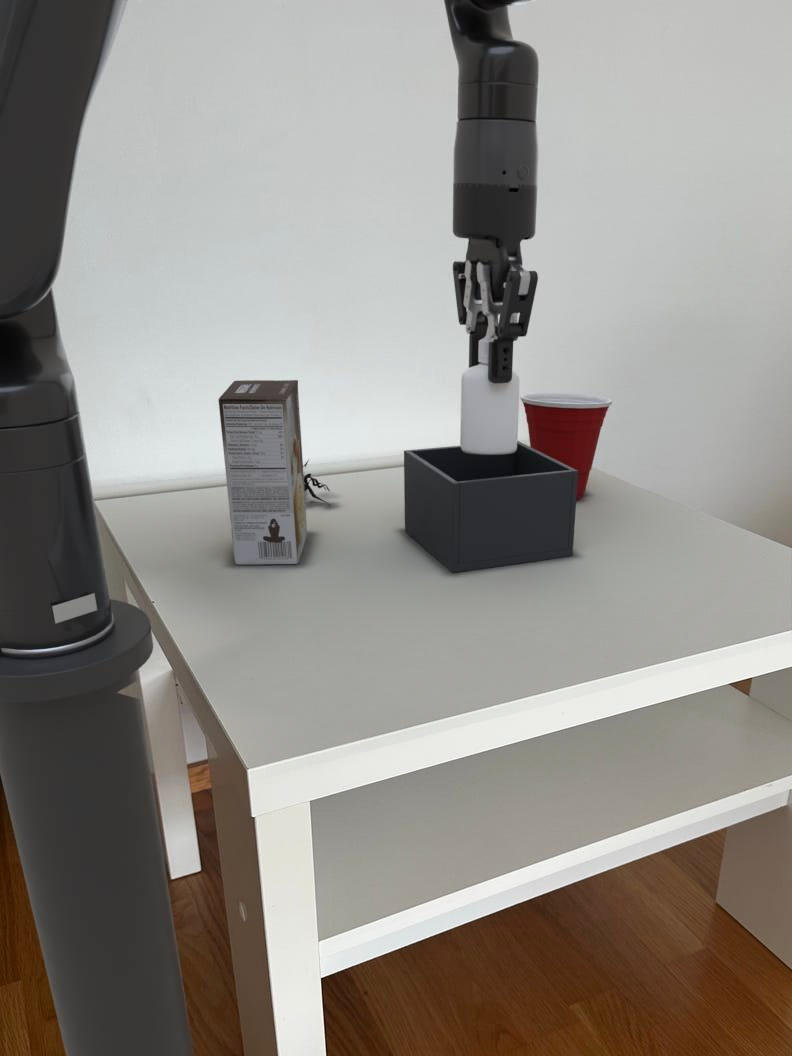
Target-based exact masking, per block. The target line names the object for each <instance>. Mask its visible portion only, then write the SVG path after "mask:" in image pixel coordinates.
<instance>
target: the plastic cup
mask: <svg viewBox="0 0 792 1056" xmlns="http://www.w3.org/2000/svg"><path fill="white" fill-rule="evenodd" d="M519 399H520V401H521V402H522V404H523V407H524V413H525V416H526V417H525V418H526V423H527V428H528V429H527V431H528V437H529V438H528V439H529V447H531V448H533V449H535V450H537V451H539V452H541V453H543V454H545V455H547V456H549V457H551V458H553V459H555V460H557V461H559V462H561V463H563V464H565V465H567V466H569V467H571V468H573V469H575V470H577V471H578V483H577V497H576V501H577V500H581V499H582V498H583V497H584V494H585V492H586V490H587V486H588V481H589V477H590V472H591V470H592V467H593V463H594V459H595V455H596V452H597V451H596V450H597V447H598V442H599V438H600V434H601V430H602V427H603V425H604V421H605V418H606V416H607V412H608V410H609V409H610V406H612V405H613V400H612V399H611V398H607V397H602V396H597V395H589V394H580V393H579V394H577V393H557V392H543V393H542V392H540V393H538V392H536V393H525V394H522V395H519Z"/></svg>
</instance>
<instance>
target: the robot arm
mask: <svg viewBox="0 0 792 1056" xmlns="http://www.w3.org/2000/svg"><path fill="white" fill-rule="evenodd" d="M128 1H129V0H0V657H9V658H16V659H41V658H51V657H57V656H63V655H67V654H71V653H75V652H78V651H81V650H84V649H87V648H90V647H92V646H94V645H96V644H98V643H100V642H102V641H103V640H105V639H106V638H107V637H108V636H110V635H111V633H112V632H113V631H114V628H115V622H114V616H113V613H112V612H111V601H110V599H111V598H110V594H109V588H108V587H109V586H108V581H107V575H106V574H107V573H106V568H105V561H104V556H103V555H104V554H103V550H102V543H101V537H100V531H99V524H98V518H97V513H96V506H95V499H94V494H93V488H92V482H91V475H90V469H89V462H88V457H87V450H86V444H85V438H84V437H85V436H84V431H83V424H82V419H81V413H80V404H79V400H78V399H79V398H78V393H77V386H76V382H75V377H74V374H73V371H72V369H71V365H70V362H69V360H68V357H67V353H66V350H65V346H64V342H63V339H62V335H61V330H60V329H61V328H60V324H59V319H58V313H57V312H58V311H57V308H56V307H57V306H56V301H55V296H54V290H53V287H54V284H55V282H56V280H57V277H58V274H59V271H60V268H61V262H62V257H63V251H64V243H65V236H66V230H67V220H68V214H69V208H70V203H71V196H72V189H73V185H74V178H75V172H76V167H77V166H76V165H77V162H78V157H79V156H78V155H79V150H80V144H81V139H82V136H83V131H84V128H85V127H84V126H85V124H86V120H87V115H88V112H89V109H90V106H91V105H92V101H93V98H94V95H95V93H96V90H97V88H98V85H99V82H100V80H101V78H102V75H103V72H104V71H105V68H106V65H107V62H108V59H109V57H110V54H111V52H112V48H113V46H114V43H115V39H116V37H117V34H118V31H119V29H120V25H121V23H122V19H123V16H124V13H125V10H126V6H127V3H128ZM535 1H536V0H443V3H444V7H445V13H446V18H447V24H448V29H449V35H450V40H451V44H452V48H453V49H452V50H453V52H454V56H455V61H456V66H457V77H456V124H455V126H456V127H455V136H454V142H453V157H452V160H453V161H452V233H453V235H454V236H455V237H456V238H458V239H467V240H468V242H467V249H466V253H465V260H464V261H463V260H462V261H461V260H460V261H458V260H455V261H453V263H452V274H453V283H454V293H455V301H456V309H457V311H456V312H457V318H458V323H459V325H460V326H465V333H466V334H467V335H468V368H470V367H473V366H476V365H478V364H479V363H481V362H478V351H479V340H481V339H483V338H484V337H485V336H486V334H487V329H488V327H489V338H490V341H491V342H489V355H488V380H489V381H490V382H492V383H508V382H510V381H511V379H512V369H513V360H514V342H516V341H517V340H518V339H519V337H521V338H522V337H526V336H527V334H528V330H529V325H530V321H531V315H532V312H533V311H532V310H533V306H534V301H535V296H536V291H537V286H538V282H539V275H538V272H537V271H536V270H527V269H525V267H523V257H522V250H521V249H522V247H521V243H522V241H528V240H531V239H533V238H534V237H535V235H536V229H537V227H536V226H537V208H538V207H537V205H538V203H537V202H538V182H539V181H538V180H539V160H540V158H539V156H540V151H539V150H540V149H539V137H538V135H539V134H538V118H539V117H538V115H539V91H540V61H539V56H538V53H537V51H536V49H535V48H534V47H533V46H532V45H530V44H529V43H526V42H524V41H521V40H517V39H514V36H513V33H512V28H511V23H510V18H509V7H512V6H516V5H518V6H519V5H524V4H528V3H532V2H535ZM518 314H519V315H518Z"/></svg>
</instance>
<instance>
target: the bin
mask: <svg viewBox="0 0 792 1056" xmlns="http://www.w3.org/2000/svg"><path fill="white" fill-rule="evenodd" d="M403 478H404V479H403V486H404V488H403V491H404V493H403V494H404V532H405V533H406V534H407V535H409V536H410V537H411V538H412V539H413V540H414V541H416V542H417V543H418V544H419V545H420V546H421V547H422V548H424V549H425V550H426V551H427V552H428V553H429V554H430V555H432V556H433V557H434V558H435V559H436V560H438V561H439V562H440V563H441V564H442V565H443V566H444V567H446V568H447V570H449V571H450V572H452V573H453V574H454V573H455V574H456V573H462V572H469V571H475V570H483V569H488V568H490V569H491V568H496V567H503V566H510V565H519V564H524V563H531V562H538V561H539V562H540V561H545V560H553V559H558V558H559V559H560V558H566V557H573V554H574V549H573V548H574V538H575V524H576V511H577V500H576V497H577V483H578V471H577V470H575V469H573V468H571V467H569V466H567V465H565V464H563V463H561V462H559V461H557V460H555V459H553V458H551V457H549V456H547V455H545V454H543V453H541V452H539V451H537V450H535V449H533V448H531V447H530V445H528V444H526V443H523V442H522V441H520V440H517V450H516V451H515V452H514V453H512V454H504V455H476V454H468V453H464V452H463V451H462V449H461V446H460V445H452V446H439V447H428V448H427V447H426V448H417V449H406V450H403Z"/></svg>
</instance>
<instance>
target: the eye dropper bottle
mask: <svg viewBox="0 0 792 1056" xmlns="http://www.w3.org/2000/svg"><path fill="white" fill-rule="evenodd" d="M489 342H491V341H490V338H489V327H488V329H487V334H486V336H485V337H484V338H483V339H481V340H479V351H478V362H481V363H479V364H478V365H476V366H473V367H470V368H469V367H468V368H466V369H465V370H464V371H463V372H462V375H461V385H460V428H459V429H460V433H459V434H460V435H459V438H460V439H459V446H461V449H462V451H463V452H464V453H468V454H476V455H504V454H512V453H514V452H515V451H516V450H517V441H518V437H519V436H518V435H519V434H518V433H519V411H520V409H519V408H520V376H519V374H518V372H517V371H516V370H515V369H514V368H512V379H511V381H510V382H508V383H492V382H490V381H489V380H488V355H489Z"/></svg>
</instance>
